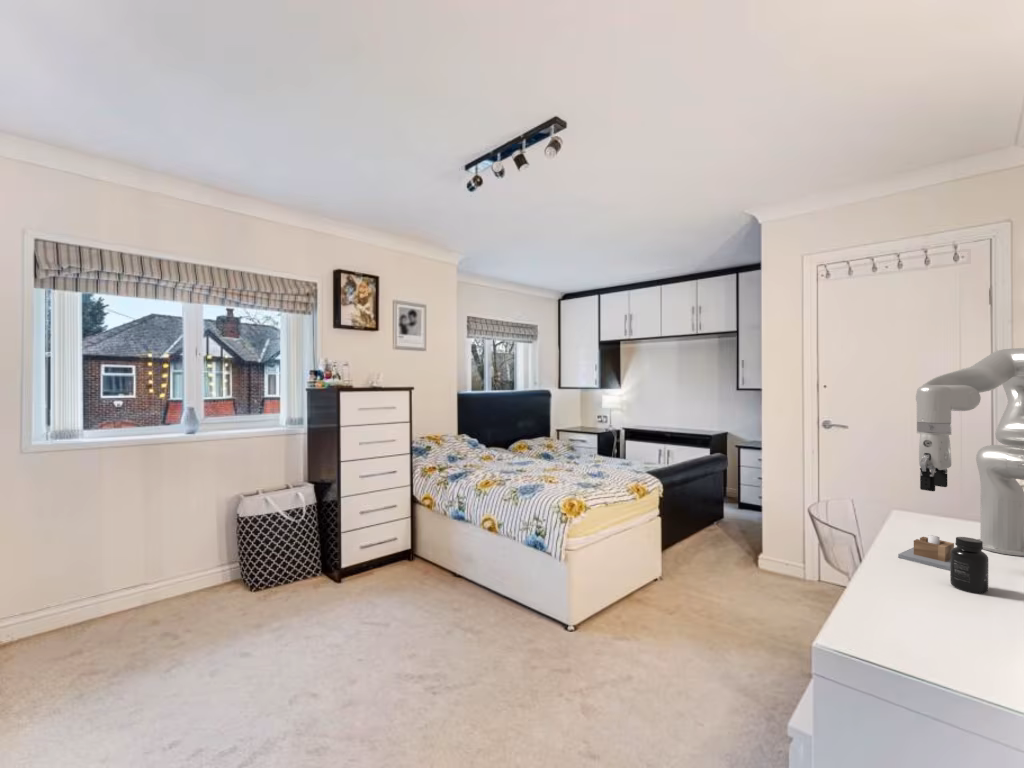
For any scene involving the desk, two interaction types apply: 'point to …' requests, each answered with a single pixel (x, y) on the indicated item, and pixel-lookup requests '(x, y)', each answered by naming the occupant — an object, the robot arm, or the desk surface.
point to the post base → (924, 560)
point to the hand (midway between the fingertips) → (933, 488)
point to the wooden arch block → (933, 549)
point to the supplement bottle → (969, 566)
